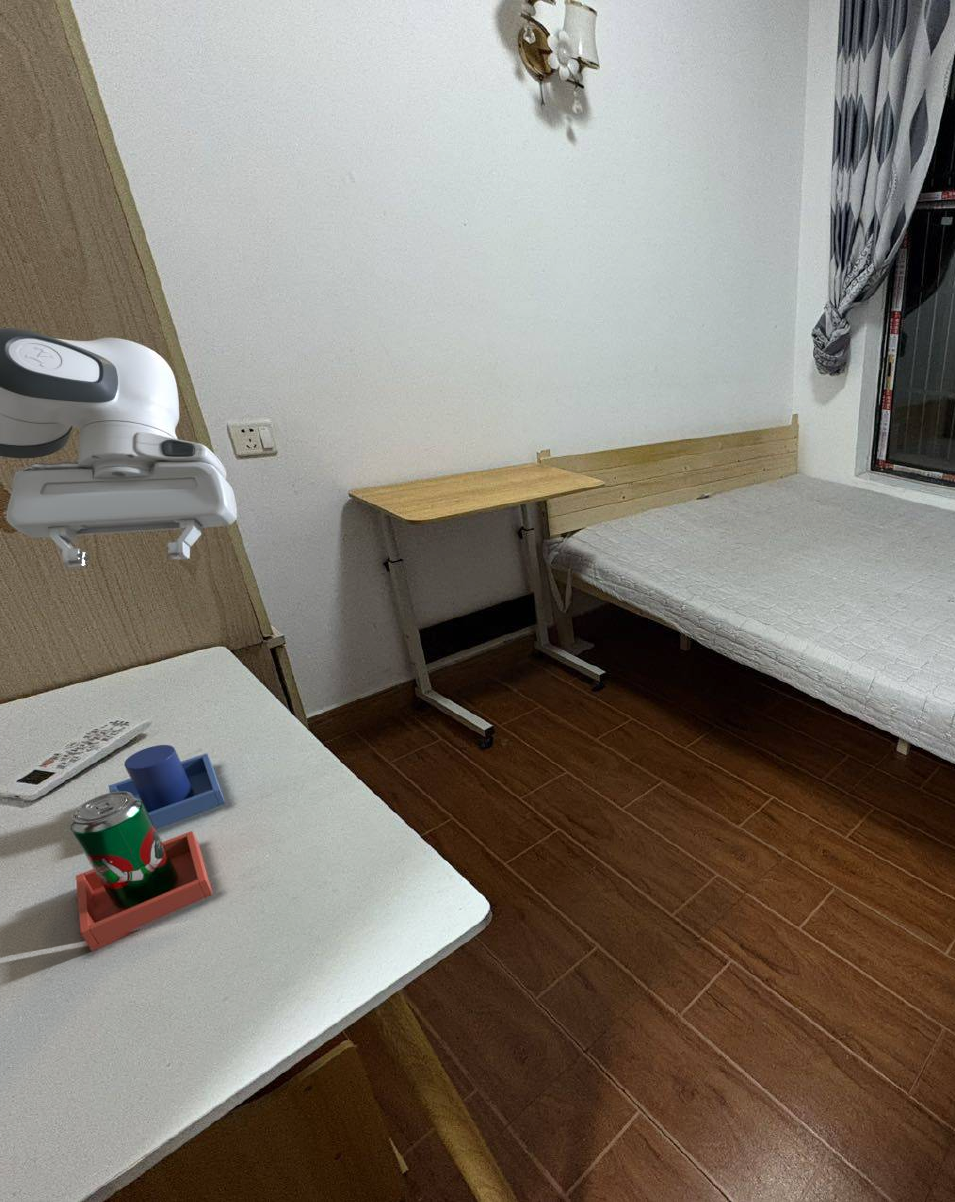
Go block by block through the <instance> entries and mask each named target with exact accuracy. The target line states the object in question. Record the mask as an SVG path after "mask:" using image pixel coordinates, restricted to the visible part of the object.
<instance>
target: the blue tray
mask: <svg viewBox="0 0 955 1202" xmlns="http://www.w3.org/2000/svg"><path fill="white" fill-rule="evenodd" d="M180 762H181V764H182V766H183V769H184V771H185V773H186V775H187V778H188V780H189V782H190V784H191V787H192V789H193V791H194V796H193V797H191V798H188V799H185V800H182V801H179V802H177V803H174V804H171V805H168V806H166V807H163V808H160V809H157V810H154V811H152V812H148V811H147V812H148V814H149V816H150V818H151V820H152V822H153V824H154V826H155V828H156V830H159V829H162V828H164V827H168V826H169V825H172V824H174V823H177V822H180V821H183V820H186V819H189V818H190V817H193V816H196V815H198V814H202V813H204V812H207V811H210V810H212V809H215V808H218V807H221V806H223V805H225V804H226V800H225V798H224V795H223V792H222V789H221V786H220V784H219V780H218V776H217V773H216V772H215V769H214V765H213V764H212V761H211V759H210V756H209V754H208V752H207V753H204V754H200V755H197V756H195V757H191V758H189V759H188V758H187V759H185V760H182V761H180ZM118 791H125V792H129V793H131V794H133V796H134V797H137V798H139V799H141V798H140V796H139V794H138V792H137V790H136V788H135V786H134V784H133V782H132V780H131V778H127V779H124V780H121V781H119V782H116V783H112V784H110V785H108V792H109V793H111V792H118Z"/></svg>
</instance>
